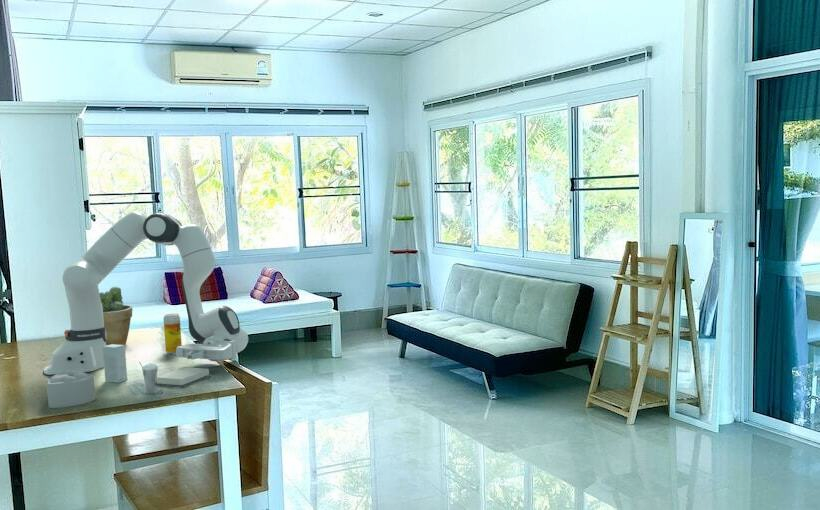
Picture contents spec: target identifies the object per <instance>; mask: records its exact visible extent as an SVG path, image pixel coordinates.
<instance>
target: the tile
mask: <svg viewBox="0 0 820 510" xmlns="http://www.w3.org/2000/svg"><path fill="white" fill-rule="evenodd" d="M204 376H210V369H209V368H202V367H187V366H185V367H181V368H178V369H176V370H172V371H170V372H168V373H165V374H162V375H159V376H157V383H159V384H169V385H184V384H187V383H189V382H192V381H194V380H197V379H199V378H202V377H204Z"/></svg>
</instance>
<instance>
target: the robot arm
mask: <svg viewBox="0 0 820 510" xmlns="http://www.w3.org/2000/svg"><path fill="white" fill-rule="evenodd" d="M147 239H148V240H149V241H151V242H153V243H155V244H157V245H161V246H173V245H174V246H175V247H176V248H177V250H178V251H179V254H180V258H181V260H182V263H183V276H182V277H181V288H182V292H183V293H182V294H183V297H184V299H183V300H184V303H185V307H186V312H187V317H188V318H187V319H188V320H187V321H188V332H189V335H190V336H191V338H192V339H194V340H195V341H197V342H199V343H185V344H182V346H178V347H177V348H176V357H177V358H185V359H187V360H197V359H198V360H208V361H210V362H218V361H227V360H234V359H236V355H237V354H238V353H240V352H242V351H243V350H244V349H245V348H246V347H247V345H248V342H249V335H248V332H246V330H245V329H243V328H242V327H241V326H240V321H239V317H238V315H237V313H236V312H235V311H234V310H233V308H231V307H229V306H227V305H221V306H218V307H216V308H213V309H211V310H210V311H206V312H205V313H204V308H203V304H202V300H201V294H200V290H201V287H202V285H203V283H205V281H206V279H208V277H210V275H211V274H212V272H213V271H214V269H215V266H216V260H215V255H214V253H213V249H212V246H211V244H210V242H209V239H208V238H207V235H206V234H205V232H204V231H203V229H202V228H201V226H199V225H198V224H193V223H189V224H186V225H185V224H184V225H182V222H181V221H179V220H178V219H177V218H175V217H173V216H172V215H170V214H165V213H161V212H155V213H152V214H151V215H150V214H149V216H146V215H145V214H144V213H143V212H139V211H131V212H128V213H127V214H126V215H124V216H123V217H121V218H120V219H119V220H118V221H116V222H115V223H114V224H113V225H112V226H111V227H110V228H109V229H107V231H106V232H105V233H103V234H102V236H100V237H99V239H97V240H96V241H95V242H94V243H93V245H92V246H90V248H89V249H88V250H87V251H86V252H85V253H84V254H83V255H82V256H81V257H80V258H79V259H78V260H76V261H74V262H72V263H71V264H69V265H68V266H67V267H66V268H65V269H64V271H63V275H62V282H63V285H64V290H65V295H66V296H65V297H66V299H67V304H68V308H69V309H68V310H69V317H70V319H69V320H70V329H68V328H67V329H65V330H64V335H65V337H64V338H65V341H64V342H62V343H61V344H60V345H59V346H58V347H57V348H55V349H54V350H53V352H52V353H51V354H50V358H49V364H48V365H46V366H45V367H44V368H43V373H44V374H45V375H52V376H53V375H57V374H64V373H65V372H67V371H72V372H74V373H75V372H79V371H81V372H84V373H88V372H94V371H97V370H99V369H103V368H104V358H103V346H106V339H107V338H106V329H105V326H104V319H103V306H102V303H101V299H100V295H99V293H100V290H99V284H101V282H102V281H104V279H105V278H107V276H108V275H110V273H111V272H112V271H113V270H115V268H116V267H117V266H119V264H120V263H122V262H123V260H124V259H125V258H126V257H127V256H128V255H129V254H130V253H131V252H133V250H135V248H136V247H138V246H139V245H140V244H141V243H142V242H144V241H145V240H147Z"/></svg>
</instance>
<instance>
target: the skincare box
mask: <svg viewBox="0 0 820 510" xmlns="http://www.w3.org/2000/svg"><path fill="white" fill-rule="evenodd" d="M103 358H104V367H103V368H104V381H105V382H107V383H116V384H117V383H121V382H124V381H127V380H128V372H127V358H126V345H115V344H111V345H107V346H103Z"/></svg>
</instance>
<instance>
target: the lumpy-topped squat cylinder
mask: <svg viewBox="0 0 820 510" xmlns="http://www.w3.org/2000/svg"><path fill="white" fill-rule="evenodd" d="M46 392H47V393H46V394H47V403H48V405H47V407H48V408H50V409H51V408H52V409H57V408H58V409H59V408H66V407H72V406H73V407H74V406H80V405H83V404H87V403H90V402H92V401H95V400H96V388H95V376H94V375H93V374H90V373H87V372H81V371H79V372H75V373H74V372H72V371H67V372H65V373H64V374H53V375H52V376H51V377H50V378H49V377H48V378H47V379H46Z"/></svg>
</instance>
